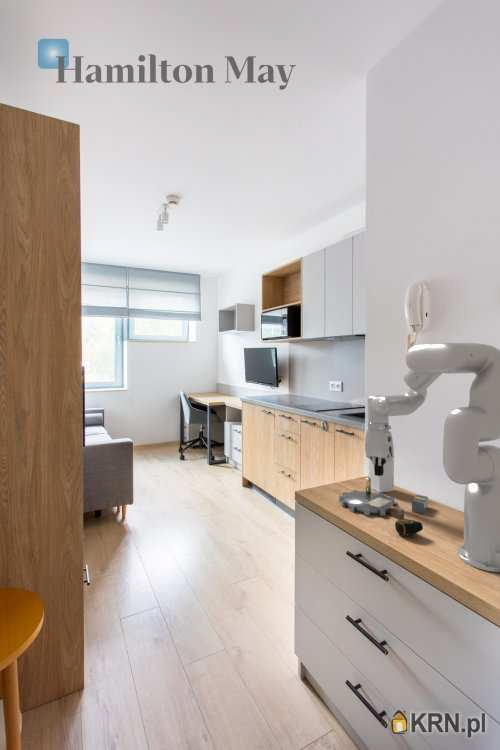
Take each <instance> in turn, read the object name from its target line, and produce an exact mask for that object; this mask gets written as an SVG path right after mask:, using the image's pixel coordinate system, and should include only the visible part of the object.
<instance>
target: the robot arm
mask: <svg viewBox="0 0 500 750" xmlns="http://www.w3.org/2000/svg"><path fill="white" fill-rule="evenodd" d="M404 360H405V364H406V366H407V368H408V369H407V370H406V371H405V372H404V375H403V381H404V383H405V384H406V386H407V387H409V388H410V389H409V390H408V391H407V392H405V393H404V394H396V395H395V394H394V395H383V394H372V395H369V396H368V397H367V430H366V433H365V438H364V441H365V442H364V451H365V454H366V455H365V457H366V458H368V460H369V459H371V460H372V462H373V464H374V472H375V475H376V476H381V475H383V473H384V467H383V465H385V463H386V462H391V461H392V458H391V457H393V456H394V457H395V451H394V442H393V435H392V432H391V431H390V430H391V429H392V425H390V424H389V417H398V416H399V417H400V416H408V415H411V414H413V413H414V412H416V411H417V410H418V409H419V408H420V407H421V406H422V405H423V404H424V403H425V401H426V399H427V396H428V395H427V394H428V388H429V387H430V386H431V385H432V384H433V383H434V382H435V381H436V380H437V379H439V377H441V376H442V374H475V377H474V379H473V381H472V382H471V384H470V388H469V401H468V405H467V406H462V407H457V408H454V409H453V410H451V411H450V412H448V414H447V416H446V418H445V420H444V426H443V441H442V442H443V443H442V444H443V445H442V446H443V447H442V464H443V469H444V472H445V475H446V476H447V477H448V478H449V480H450V481H452V482H454V483H455V484H458V485H465V488H464V495H463V499H464V500H463V544H462V545H460V546H458V547H457V549H456V554H457V556H458V558H459V559H460V560H461V561H463V562H464V563H466V564H467V565H469V566H470V567H474V568H476V569H479V570H483V571H486V572H492V573H500V448H499V447H498V446H495V445H491V444H480V443H482V442H493V441H496V440H499V439H500V349H499V348H497V347H495V346H492V345H489V344H486V343H485V344H484V343H475V342H473V343H472V342H442V343H441V342H438V343H437V342H436V343H417V344H414V345H413V346H411V347H410V348H409V349H408V350H407V352H406V354H405V359H404ZM386 458H387V459H386Z"/></svg>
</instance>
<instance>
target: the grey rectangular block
mask: <svg viewBox="0 0 500 750" xmlns="http://www.w3.org/2000/svg"><path fill="white" fill-rule="evenodd" d="M428 508H429V497H428V496H425V495H421V494H415V496H414V497H413V499H412V501H411V512H412V513H417V514H421V515H425V513H426V511H427V510H428Z"/></svg>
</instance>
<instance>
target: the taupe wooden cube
mask: <svg viewBox="0 0 500 750" xmlns="http://www.w3.org/2000/svg"><path fill="white" fill-rule="evenodd" d="M391 517H393V518H395V519H398V520H403V519H404V518H405V508H402V507H399V506H398V507H393V508H392V514H391Z"/></svg>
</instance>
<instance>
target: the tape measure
mask: <svg viewBox="0 0 500 750" xmlns="http://www.w3.org/2000/svg"><path fill="white" fill-rule="evenodd" d="M394 526H395V531H396V532H397V533H399V534H401V535H403V536H410V535H416V534H418V533H420V532H421V531H423V529H424V528H423V527H424V525H423V524H422V522H420V521H417V520H413V519H407V518H405V519H404V518H402V519H398V520H395V524H394Z"/></svg>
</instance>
